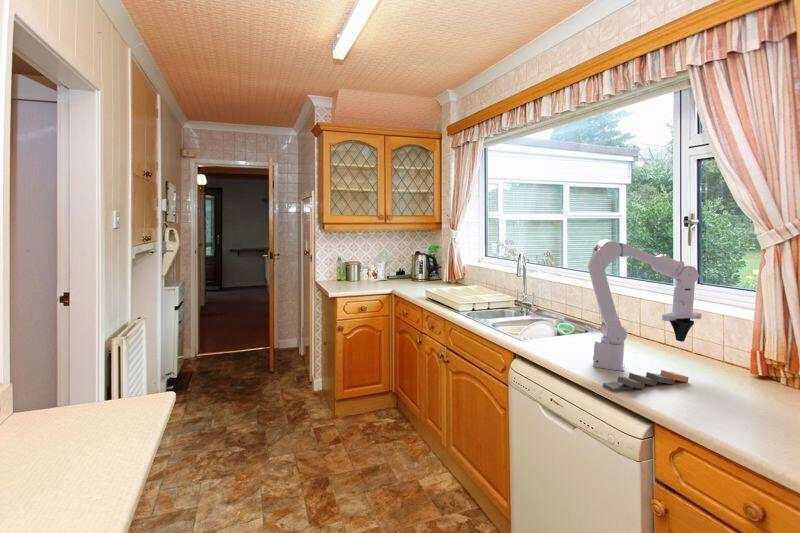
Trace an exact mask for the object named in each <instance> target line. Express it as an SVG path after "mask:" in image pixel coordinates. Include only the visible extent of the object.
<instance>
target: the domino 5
mask: <svg viewBox="0 0 800 533" xmlns="http://www.w3.org/2000/svg"><path fill="white" fill-rule="evenodd" d="M659 375H662V376H665V377H668V378H670V379H673V380H675V381H679V382H685V383H688V382H689V379H690V378H689V376H686V375H683V374H680V373H677V372H675V371H674V372H673V371H668V370H662V369H661V370H660V373H659Z"/></svg>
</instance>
